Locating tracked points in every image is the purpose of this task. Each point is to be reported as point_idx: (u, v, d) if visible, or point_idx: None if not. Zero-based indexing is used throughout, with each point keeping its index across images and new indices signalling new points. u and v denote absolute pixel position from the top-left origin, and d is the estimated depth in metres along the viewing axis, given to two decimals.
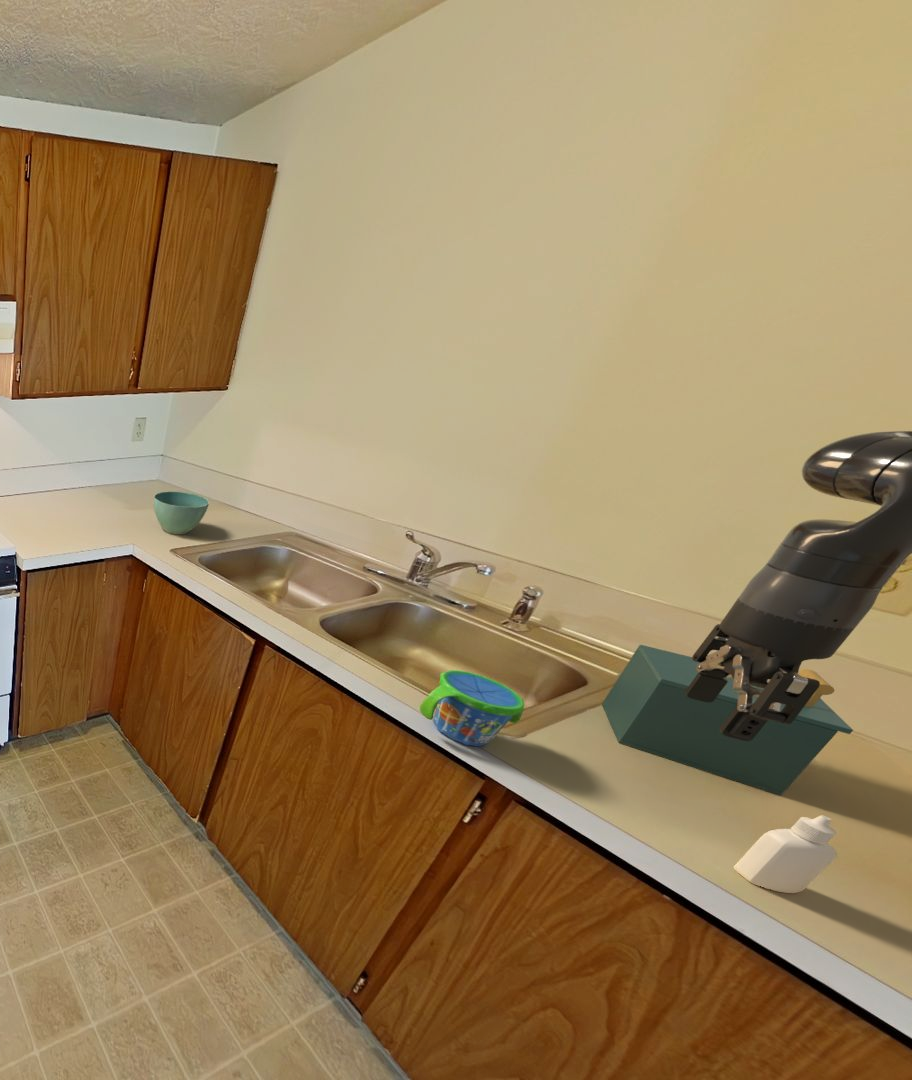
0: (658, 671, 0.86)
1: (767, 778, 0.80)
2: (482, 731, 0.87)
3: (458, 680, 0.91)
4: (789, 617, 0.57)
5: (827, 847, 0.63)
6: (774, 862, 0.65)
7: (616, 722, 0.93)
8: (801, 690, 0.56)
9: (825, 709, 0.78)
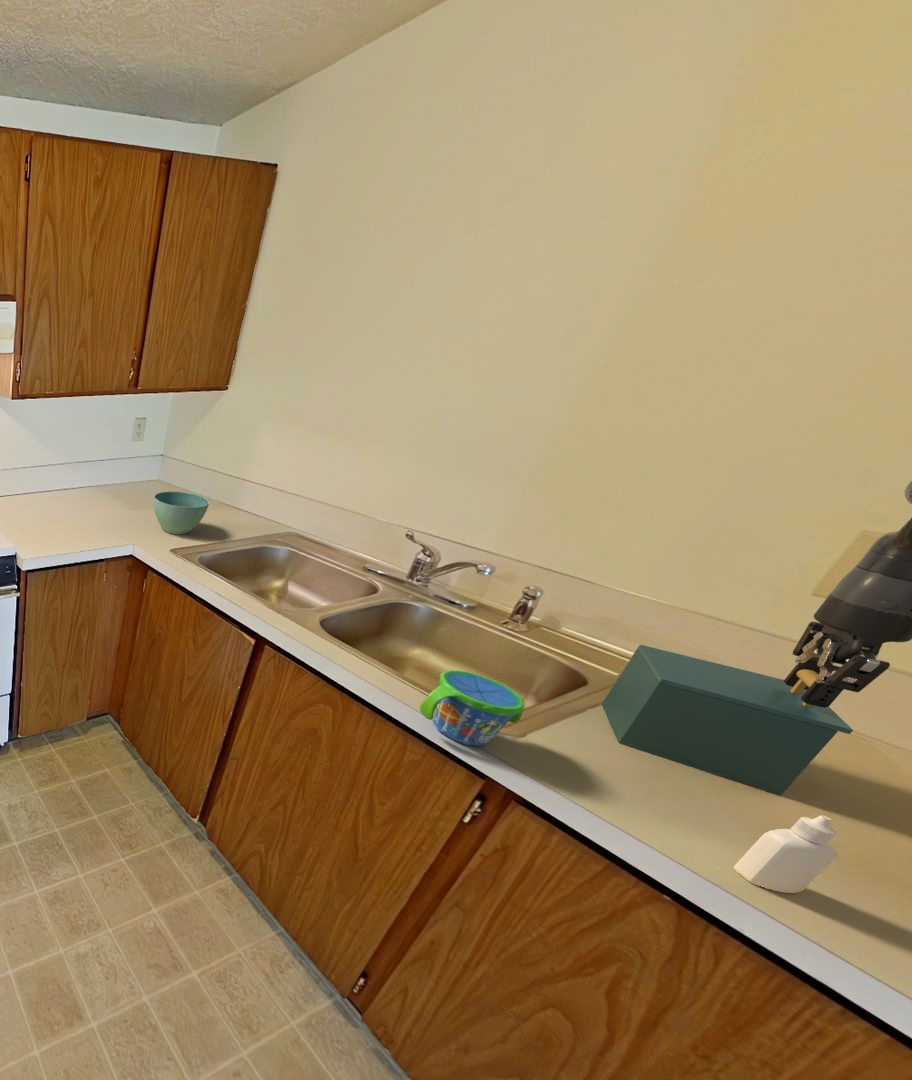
0: (658, 671, 0.86)
1: (767, 778, 0.80)
2: (482, 731, 0.87)
3: (458, 680, 0.91)
4: (872, 607, 0.72)
5: (827, 847, 0.63)
6: (774, 862, 0.65)
7: (616, 722, 0.93)
8: (872, 670, 0.72)
9: (825, 709, 0.78)
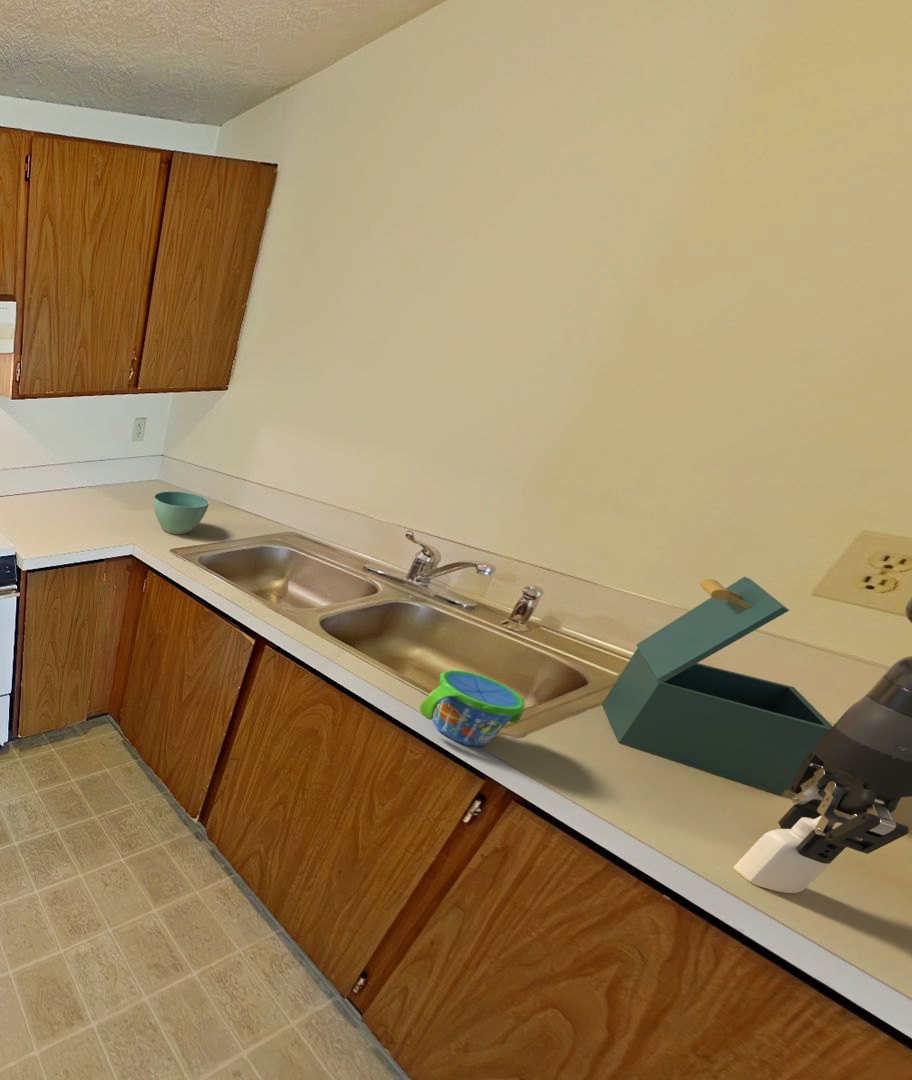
0: (653, 670, 0.87)
1: (767, 778, 0.80)
2: (482, 731, 0.87)
3: (458, 680, 0.91)
4: (887, 752, 0.57)
5: None
6: (775, 862, 0.65)
7: (616, 722, 0.93)
8: (885, 833, 0.57)
9: (760, 598, 0.79)
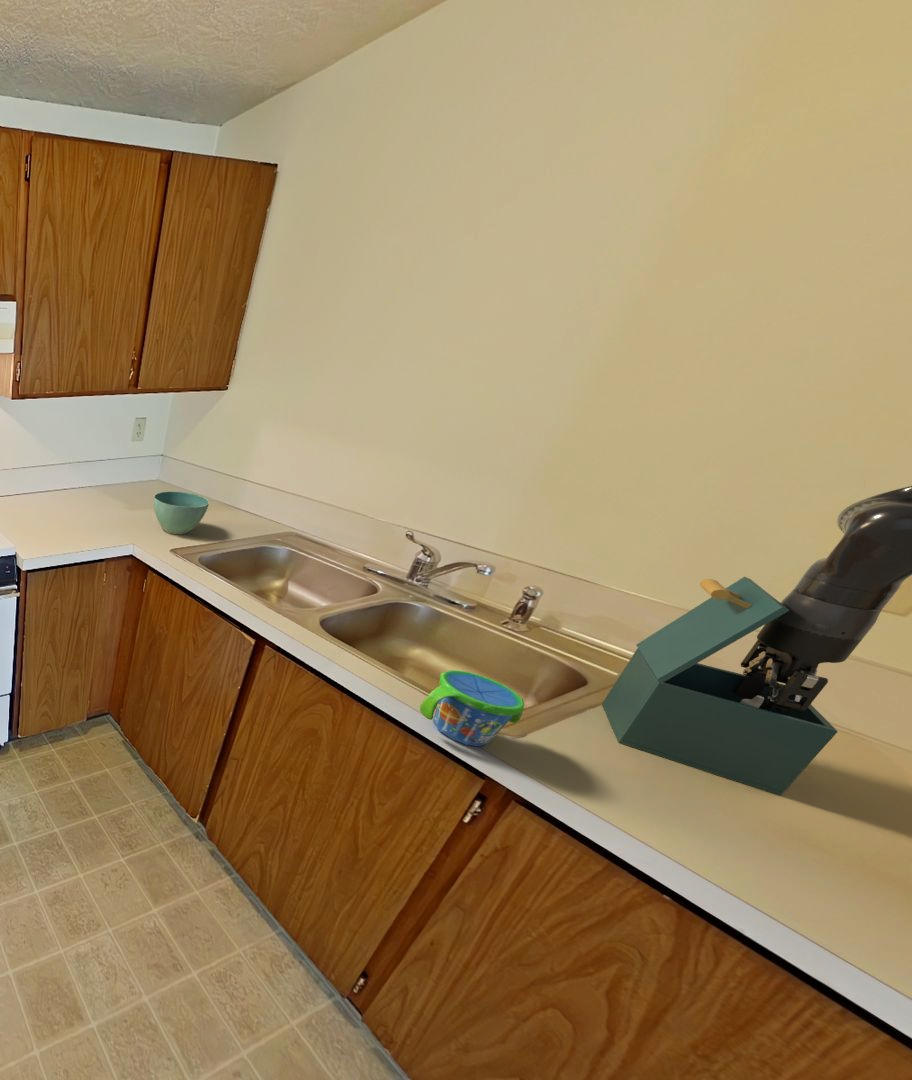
0: (653, 670, 0.87)
1: (767, 778, 0.80)
2: (482, 731, 0.87)
3: (458, 680, 0.91)
4: (807, 630, 0.76)
5: None
6: None
7: (616, 722, 0.93)
8: (813, 685, 0.75)
9: (760, 598, 0.79)
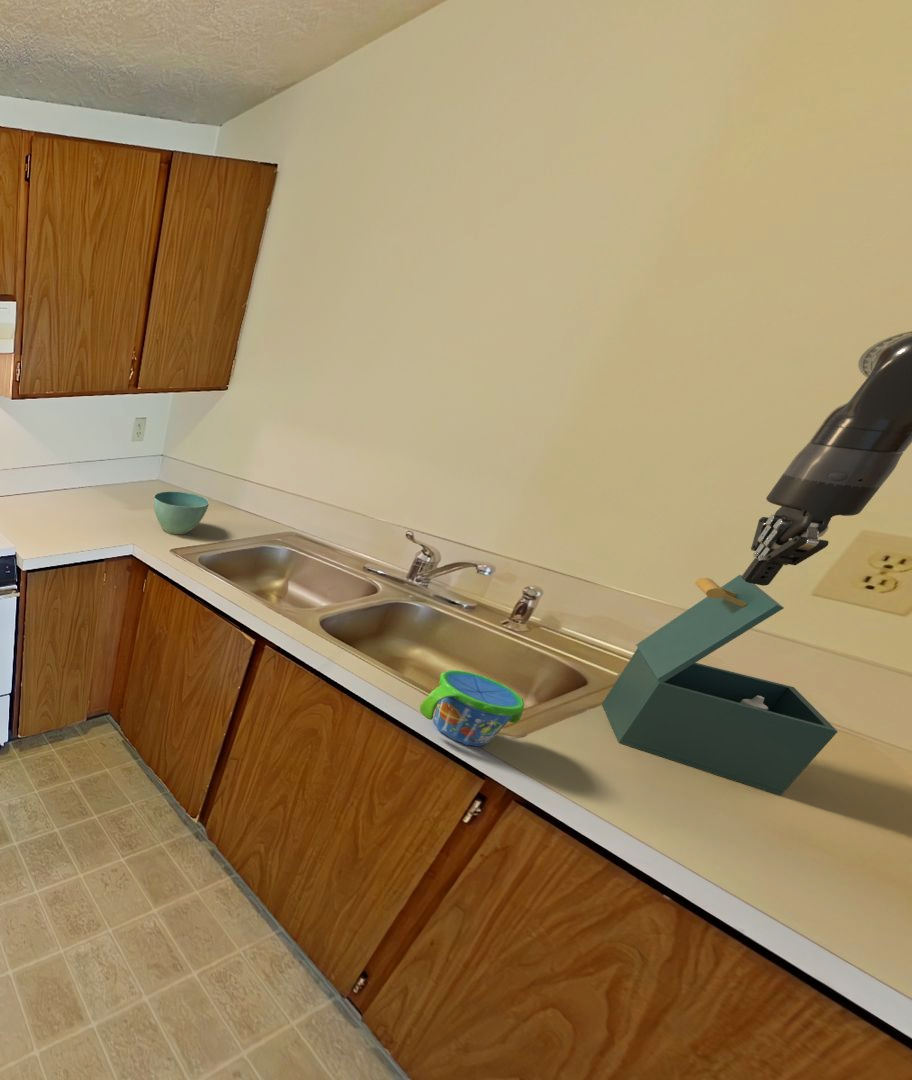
0: (653, 670, 0.87)
1: (767, 778, 0.80)
2: (482, 731, 0.87)
3: (458, 680, 0.91)
4: (822, 480, 0.72)
5: None
6: None
7: (616, 722, 0.93)
8: (809, 549, 0.73)
9: (755, 596, 0.79)
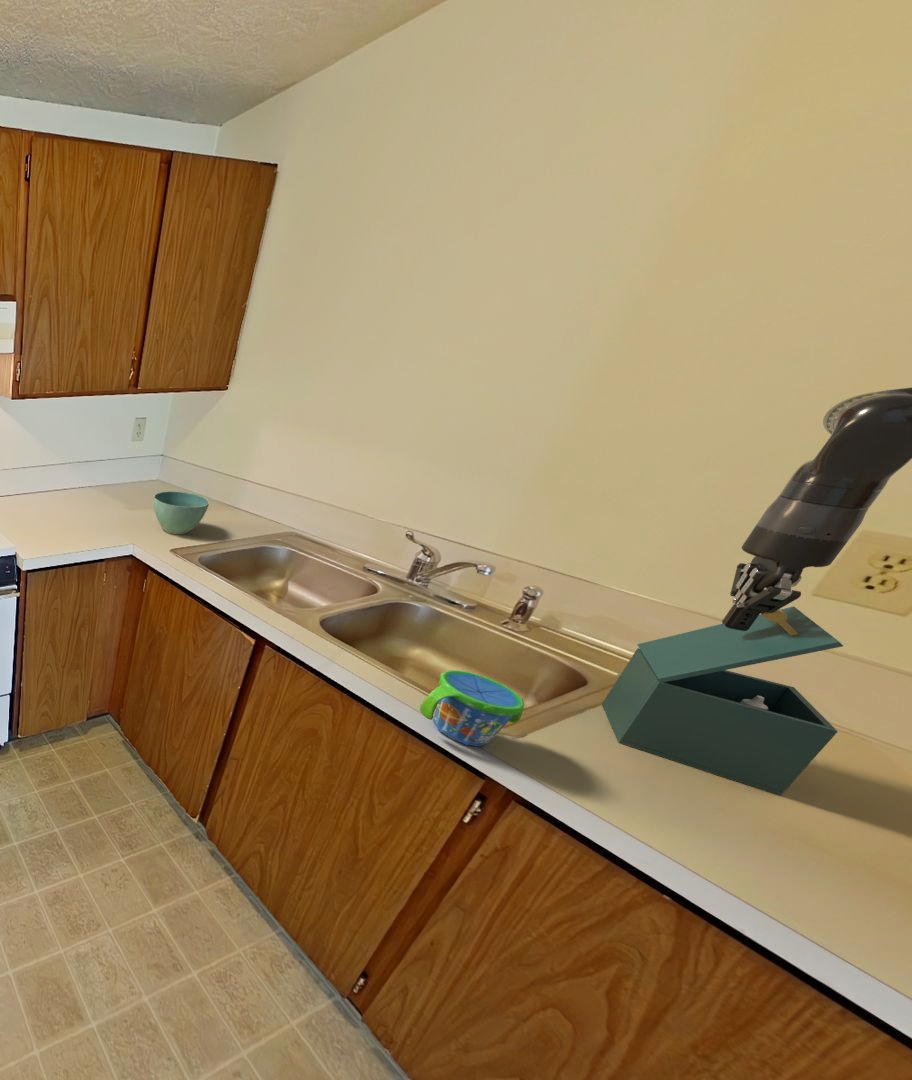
0: (655, 670, 0.87)
1: (767, 778, 0.80)
2: (482, 731, 0.87)
3: (458, 680, 0.91)
4: (792, 533, 0.74)
5: None
6: None
7: (616, 722, 0.93)
8: (783, 599, 0.75)
9: (811, 629, 0.76)
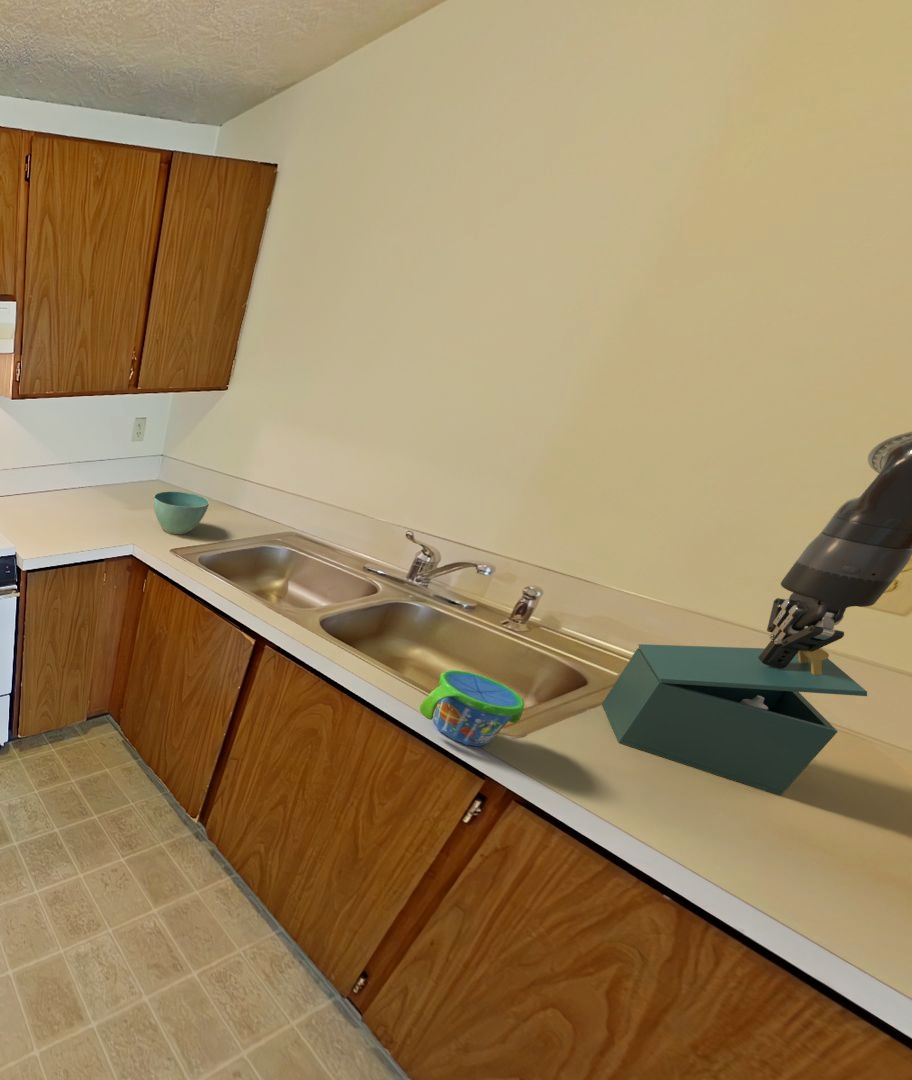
0: (657, 670, 0.86)
1: (767, 778, 0.80)
2: (482, 731, 0.87)
3: (458, 680, 0.91)
4: (835, 572, 0.73)
5: None
6: None
7: (616, 722, 0.93)
8: (825, 638, 0.74)
9: (837, 674, 0.76)
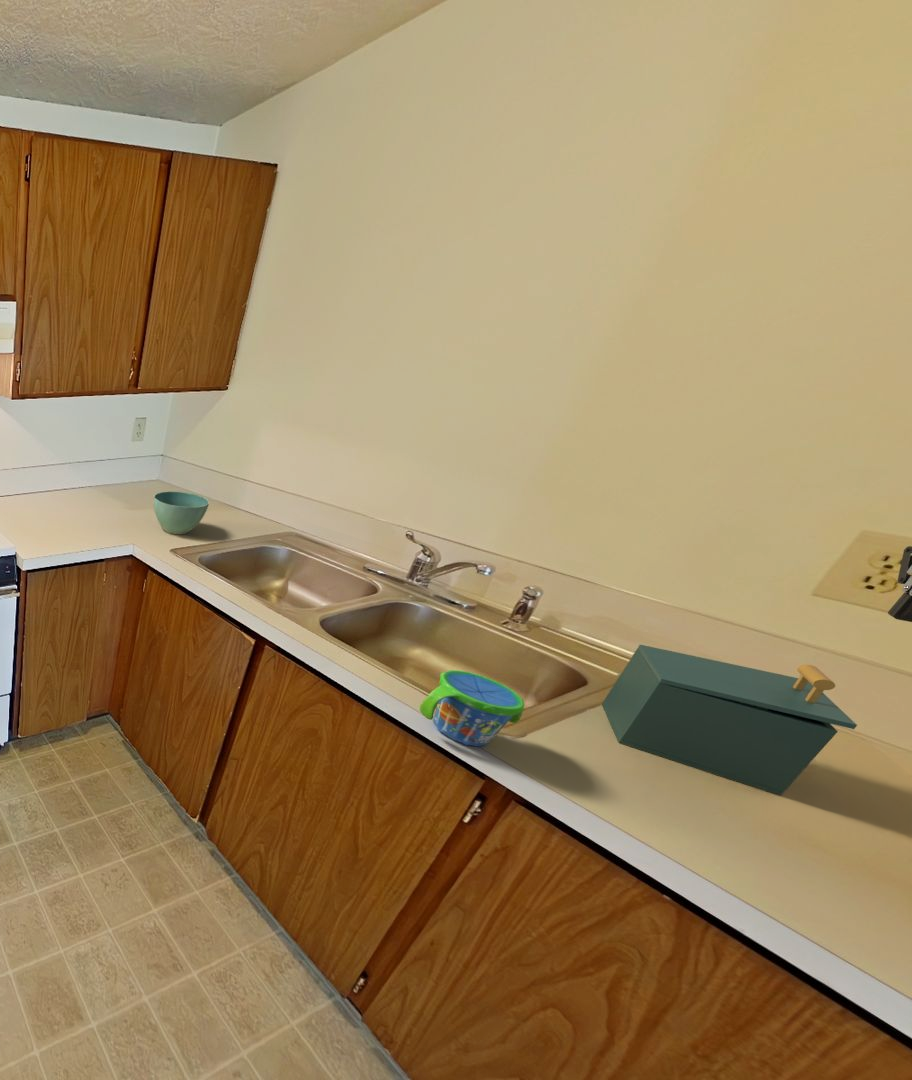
0: (658, 671, 0.86)
1: (767, 778, 0.80)
2: (482, 731, 0.87)
3: (458, 680, 0.91)
4: None
5: None
6: None
7: (616, 722, 0.93)
8: None
9: (828, 705, 0.77)
